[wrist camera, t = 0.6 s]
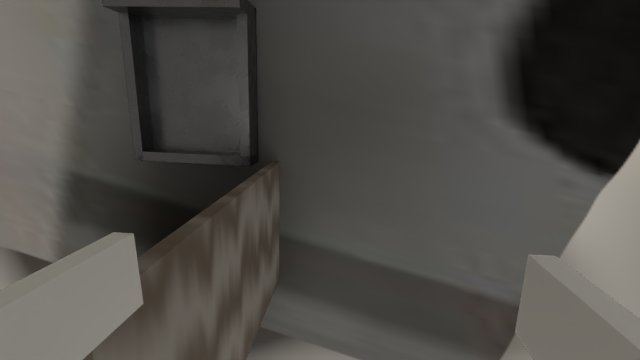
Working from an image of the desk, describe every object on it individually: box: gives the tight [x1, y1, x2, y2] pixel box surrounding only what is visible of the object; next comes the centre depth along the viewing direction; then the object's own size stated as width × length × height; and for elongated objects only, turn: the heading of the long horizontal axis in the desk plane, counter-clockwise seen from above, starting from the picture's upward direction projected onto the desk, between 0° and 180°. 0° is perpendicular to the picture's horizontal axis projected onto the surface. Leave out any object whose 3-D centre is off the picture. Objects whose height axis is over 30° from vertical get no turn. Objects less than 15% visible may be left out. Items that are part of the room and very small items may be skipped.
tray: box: [102, 0, 258, 166], centre depth 32 cm, size 16×13×5 cm
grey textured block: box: [83, 162, 279, 360], centre depth 24 cm, size 15×17×29 cm
